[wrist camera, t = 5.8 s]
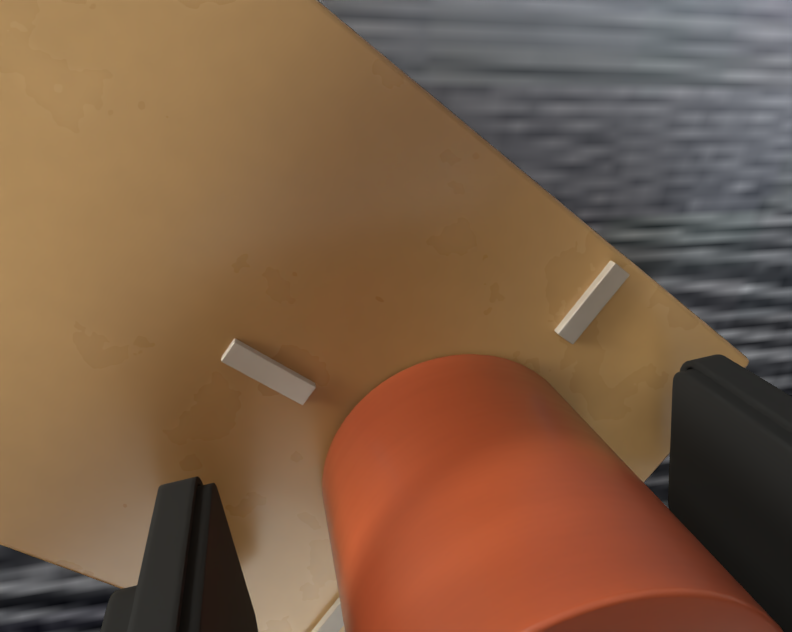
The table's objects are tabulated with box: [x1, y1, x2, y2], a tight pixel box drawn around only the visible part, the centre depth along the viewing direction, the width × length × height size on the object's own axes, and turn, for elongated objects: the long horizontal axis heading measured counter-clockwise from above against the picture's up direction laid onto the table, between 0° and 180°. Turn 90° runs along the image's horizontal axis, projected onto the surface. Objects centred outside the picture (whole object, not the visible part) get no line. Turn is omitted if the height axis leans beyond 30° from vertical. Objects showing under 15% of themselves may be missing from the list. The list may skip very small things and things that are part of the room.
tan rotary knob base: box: [0, 0, 749, 632], centre depth 11 cm, size 14×9×3 cm, turn 53°
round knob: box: [322, 354, 784, 632], centre depth 8 cm, size 4×4×5 cm
